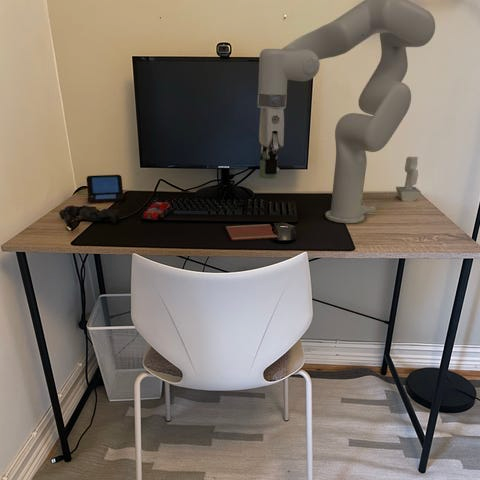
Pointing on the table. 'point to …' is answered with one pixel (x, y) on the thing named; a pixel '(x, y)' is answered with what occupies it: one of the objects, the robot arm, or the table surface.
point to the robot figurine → (89, 214)
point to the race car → (156, 211)
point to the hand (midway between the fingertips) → (268, 171)
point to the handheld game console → (104, 188)
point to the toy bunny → (262, 168)
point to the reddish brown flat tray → (251, 232)
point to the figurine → (409, 181)
